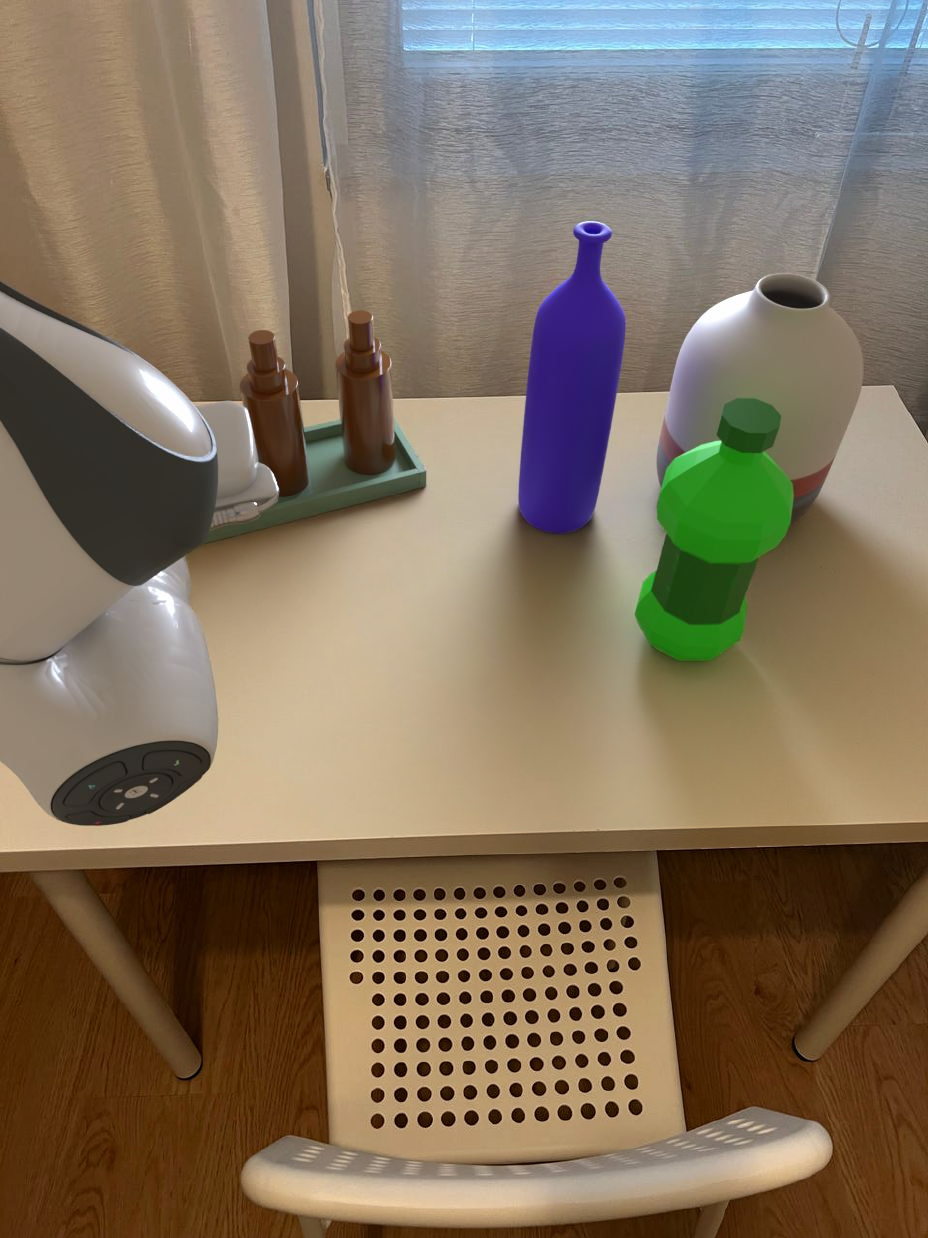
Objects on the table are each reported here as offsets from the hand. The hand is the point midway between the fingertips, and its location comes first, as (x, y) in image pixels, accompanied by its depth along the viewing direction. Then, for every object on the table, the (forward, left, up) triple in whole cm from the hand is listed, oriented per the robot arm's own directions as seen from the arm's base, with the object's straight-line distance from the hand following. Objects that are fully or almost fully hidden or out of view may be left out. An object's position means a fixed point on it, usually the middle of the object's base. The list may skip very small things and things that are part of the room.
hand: (75, 405), depth 59 cm
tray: (+14, +22, -29) cm, 39 cm away
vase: (+59, +3, -29) cm, 66 cm away
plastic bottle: (+44, -12, -29) cm, 54 cm away
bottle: (+41, +8, -29) cm, 51 cm away
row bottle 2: (+26, +22, -29) cm, 44 cm away
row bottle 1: (+16, +22, -29) cm, 39 cm away
